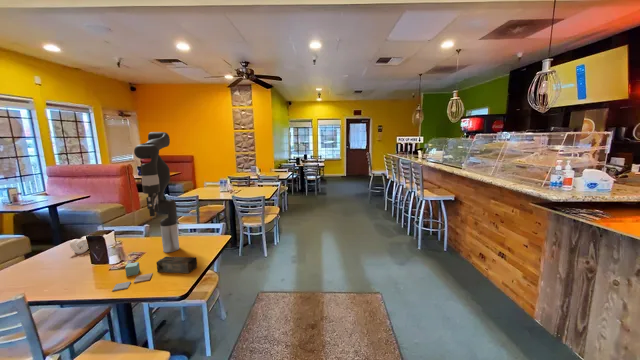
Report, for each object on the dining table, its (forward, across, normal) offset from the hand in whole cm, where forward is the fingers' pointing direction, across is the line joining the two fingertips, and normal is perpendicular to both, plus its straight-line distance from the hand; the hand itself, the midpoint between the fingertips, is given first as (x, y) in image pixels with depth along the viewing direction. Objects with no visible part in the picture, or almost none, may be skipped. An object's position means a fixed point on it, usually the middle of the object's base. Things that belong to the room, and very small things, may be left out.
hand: (154, 213), depth 142 cm
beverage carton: (+32, +2, +8) cm, 34 cm away
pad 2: (+32, +6, -7) cm, 33 cm away
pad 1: (+32, +11, -15) cm, 37 cm away
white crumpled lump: (+32, -50, -54) cm, 80 cm away
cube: (+32, -3, -14) cm, 35 cm away
